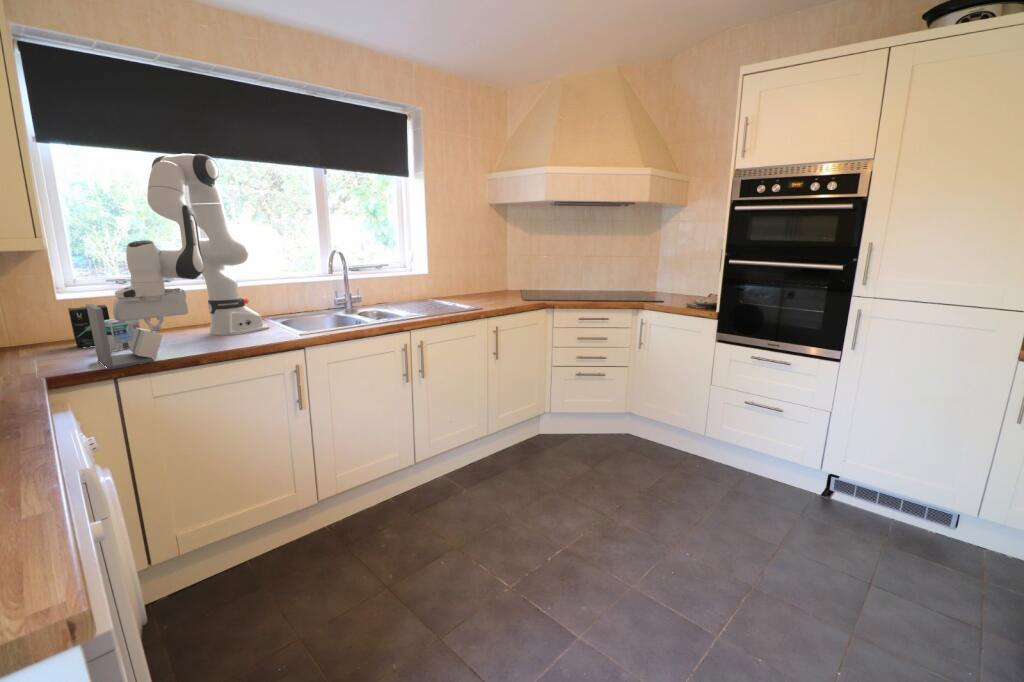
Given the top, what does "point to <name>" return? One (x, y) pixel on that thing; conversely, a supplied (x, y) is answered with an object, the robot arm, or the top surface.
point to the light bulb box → (120, 333)
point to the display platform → (103, 344)
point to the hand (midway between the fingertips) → (155, 330)
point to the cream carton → (145, 343)
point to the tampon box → (84, 325)
